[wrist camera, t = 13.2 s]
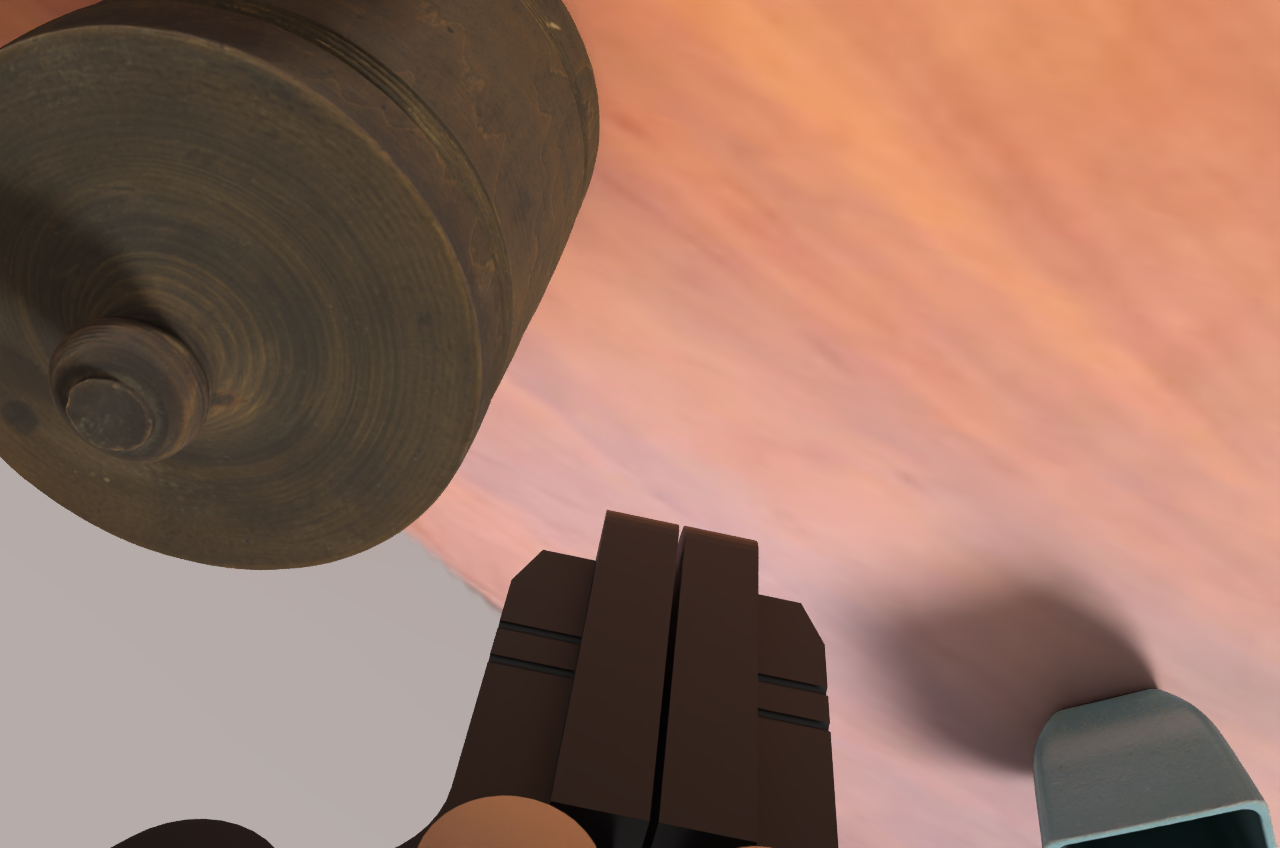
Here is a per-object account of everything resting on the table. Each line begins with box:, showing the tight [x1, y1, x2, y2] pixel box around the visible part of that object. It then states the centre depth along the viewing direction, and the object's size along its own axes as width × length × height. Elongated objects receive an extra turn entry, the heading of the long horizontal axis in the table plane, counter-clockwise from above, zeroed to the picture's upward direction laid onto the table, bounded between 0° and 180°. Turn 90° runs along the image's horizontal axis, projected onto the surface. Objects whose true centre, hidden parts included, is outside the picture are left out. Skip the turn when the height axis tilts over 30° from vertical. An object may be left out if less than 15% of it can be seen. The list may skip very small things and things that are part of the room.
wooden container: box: [0, 0, 599, 570], centre depth 34 cm, size 15×15×22 cm
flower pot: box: [1033, 689, 1277, 848], centre depth 52 cm, size 9×9×9 cm
